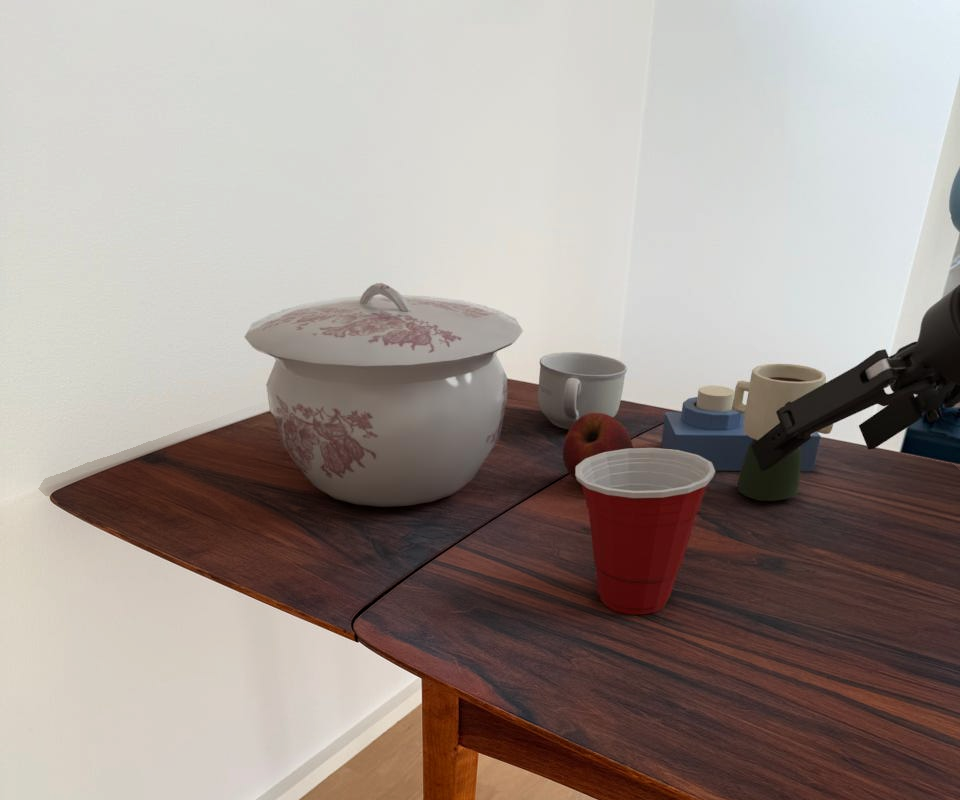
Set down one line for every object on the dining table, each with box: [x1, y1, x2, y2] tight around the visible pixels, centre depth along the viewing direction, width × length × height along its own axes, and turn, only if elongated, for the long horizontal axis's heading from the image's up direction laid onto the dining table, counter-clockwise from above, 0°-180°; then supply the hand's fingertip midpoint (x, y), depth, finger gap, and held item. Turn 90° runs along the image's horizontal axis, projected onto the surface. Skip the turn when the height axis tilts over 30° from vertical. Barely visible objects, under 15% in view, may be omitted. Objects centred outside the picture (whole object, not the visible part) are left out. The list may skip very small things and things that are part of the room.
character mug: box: [733, 363, 834, 502], centre depth 90 cm, size 11×7×13 cm, turn 46°
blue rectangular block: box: [660, 396, 821, 473], centre depth 101 cm, size 16×8×6 cm, turn 88°
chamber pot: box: [244, 282, 524, 508], centre depth 91 cm, size 28×28×21 cm
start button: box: [696, 385, 735, 411], centre depth 100 cm, size 4×4×2 cm
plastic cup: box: [576, 447, 716, 616], centre depth 72 cm, size 11×11×12 cm
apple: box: [562, 413, 634, 485], centre depth 94 cm, size 7×8×8 cm
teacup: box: [537, 351, 628, 431], centre depth 110 cm, size 14×11×8 cm
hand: (813, 447), depth 86 cm, fingers open, 13 cm apart
